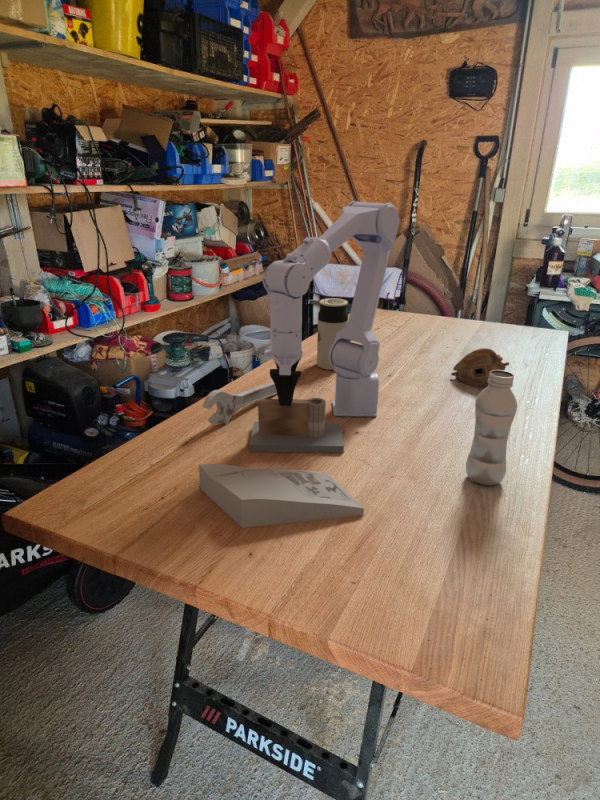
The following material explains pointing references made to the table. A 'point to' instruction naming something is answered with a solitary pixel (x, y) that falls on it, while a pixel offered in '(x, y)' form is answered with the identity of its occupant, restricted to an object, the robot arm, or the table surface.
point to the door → (292, 417)
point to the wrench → (235, 401)
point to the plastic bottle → (492, 429)
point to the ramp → (275, 495)
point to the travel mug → (329, 328)
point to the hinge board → (299, 441)
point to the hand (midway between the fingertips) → (286, 397)
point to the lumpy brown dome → (478, 367)
